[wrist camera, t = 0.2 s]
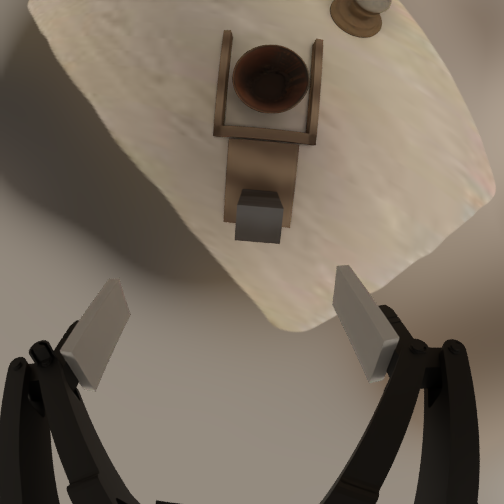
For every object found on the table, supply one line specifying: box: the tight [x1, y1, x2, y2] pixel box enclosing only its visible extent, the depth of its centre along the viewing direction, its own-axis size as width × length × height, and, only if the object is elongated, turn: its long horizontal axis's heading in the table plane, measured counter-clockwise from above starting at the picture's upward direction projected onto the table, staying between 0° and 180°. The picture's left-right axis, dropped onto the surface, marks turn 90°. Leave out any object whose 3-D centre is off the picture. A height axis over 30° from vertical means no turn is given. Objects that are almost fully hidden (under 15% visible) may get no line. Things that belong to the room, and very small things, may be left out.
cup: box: [232, 45, 309, 113], centre depth 31 cm, size 9×9×10 cm
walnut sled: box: [213, 30, 323, 244], centre depth 31 cm, size 29×14×12 cm, turn 175°
